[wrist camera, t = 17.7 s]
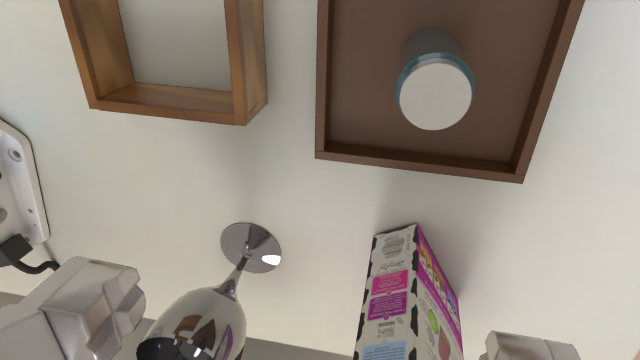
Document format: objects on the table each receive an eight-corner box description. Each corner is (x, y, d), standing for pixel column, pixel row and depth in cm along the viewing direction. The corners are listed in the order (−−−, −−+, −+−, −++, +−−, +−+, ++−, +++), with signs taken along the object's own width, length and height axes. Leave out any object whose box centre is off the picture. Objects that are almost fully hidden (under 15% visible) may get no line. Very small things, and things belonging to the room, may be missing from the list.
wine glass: (222, 209, 42) (137, 322, 29) (292, 235, 41) (236, 361, 29) (212, 260, 46) (134, 378, 33) (275, 284, 46) (221, 412, 33)
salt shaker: (455, 89, 30) (468, 139, 22) (396, 85, 31) (389, 131, 23) (467, 29, 28) (486, 60, 20) (404, 25, 28) (399, 54, 21)
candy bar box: (369, 234, 39) (343, 390, 25) (417, 220, 37) (416, 380, 23) (414, 310, 43) (412, 481, 29) (459, 301, 41) (480, 480, 27)
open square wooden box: (268, 104, 34) (246, 127, 30) (128, 90, 37) (89, 109, 32) (259, -83, 27) (229, -89, 23) (87, -86, 30) (30, -92, 25)
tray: (515, 168, 33) (522, 184, 30) (320, 146, 35) (314, 159, 33) (591, -68, 24) (608, -69, 22) (326, -73, 27) (318, -74, 25)
